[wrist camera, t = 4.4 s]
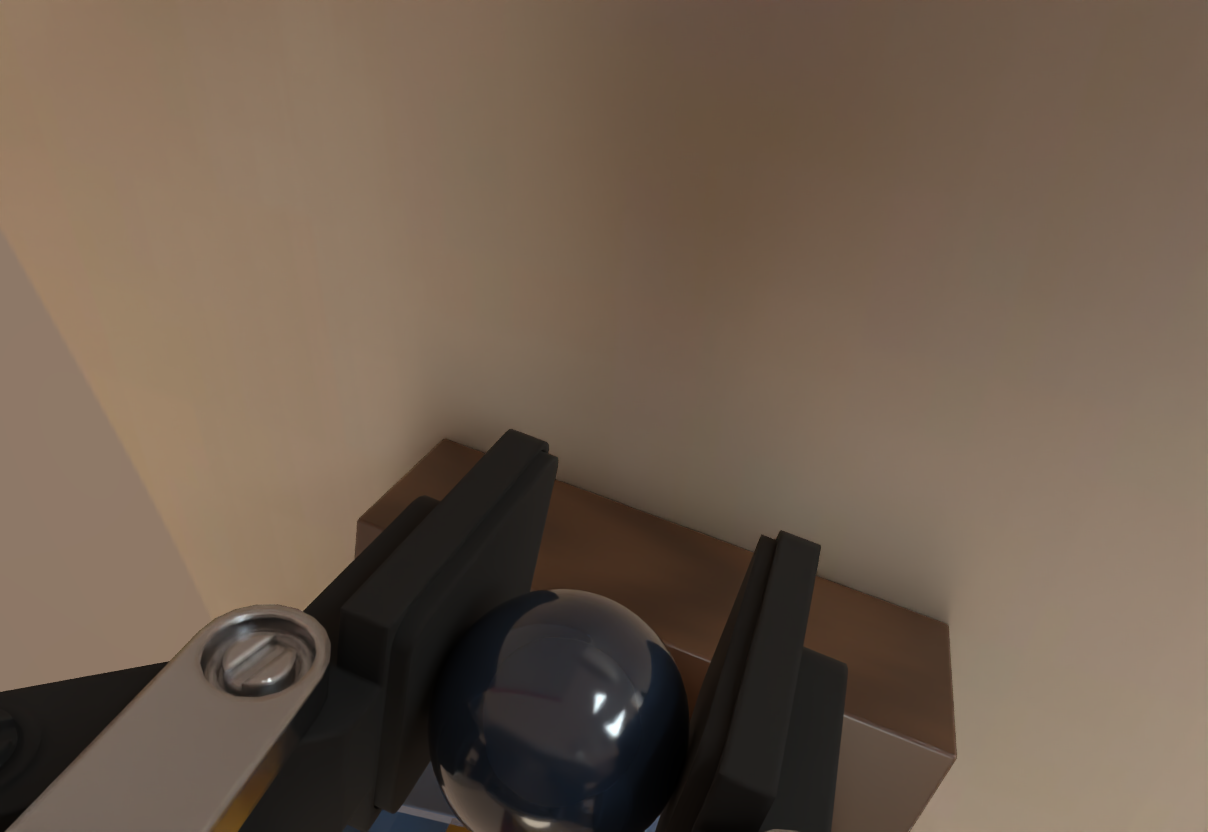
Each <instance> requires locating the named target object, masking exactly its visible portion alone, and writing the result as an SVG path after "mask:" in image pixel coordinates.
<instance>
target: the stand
mask: <svg viewBox="0 0 1208 832" xmlns="http://www.w3.org/2000/svg"><path fill="white" fill-rule="evenodd" d="M484 455H485V453H483V452H480V451H477V450H474V449H472V448H469V447H466V446H464V445H461V444H458V443H455V442H453V441H450V440H447V439H443V440H442V441H441V442H440V443H438V444H437V445H436V446H435V447H434V448H433V449H432V450H431V451H430V452H429V453H428V454H427V455H426V456H425V457H424V458H423V459H421V460H420V461H419V462H418V463H417V464H416V465H415V466H414V467H413V468H412V469H411V470H410V471H409V472H408V473H407V474H406V475H404V476H403V477H402V478H401V479H400V480H399V481H398V482H397V483H396V484H395V485H394V486H393V487H392V488H391V489H390V490H389V491H387V492H386V493H385V494H384V495H383V496H382V497H381V498H380V499H379V500H378V501H377V502H376V503H375V504H374V505H373V506H371V507H370V508H369V509H368V510H367V511H366V512H365V513H364V514H363V515H362V516H361V517H360V518H359V519H358V521H357V533H356V548H355V559H356V558H357V557H358V556H359V555H360V554H361V553H362V552H363V551H364V550H365V549H366V548H367V547H368V546H369V545H370V544H371V543H372V542H373V541H374V540H375V539H376V538H377V537H378V536H379V535H380V534H381V533H382V532H383V531H384V530H385V529H386V528H387V527H388V526H389V525H390V524H391V523H392V522H393V521H394V520H395V519H396V518H397V517H398V515H399V514H400V513H401V512H402V511H403V510H404V509H405V508H406V507H407V506H408V505H409V504H410V503H411V502H413V501H414V500H415V499H416V498H418V497H419V496H423V495H426V496H429V497H431V498H434V499H436V500H439V501H441V500H442V499H443V498H444V497H445V496H446V495H447V494H448V493H449V492H450V491H451V490H452V489H453V488H454V487H455V486H456V485H457V483H458V482H459V481H460V480H461V479H462V478H463V477H464V476H465V475H466V474H467V473H468V472H469V471H470V470H471V469H472V468H473V467H474V465H475V464H476V463H477V462H478V461H479V460H480V459H481V458H482V457H483V456H484ZM753 554H754V553H753V552H751V551H748V550H745V549H743V548H740V547H737V546H734V545H732V544H729V543H726V542H724V541H721V540H718V539H715V538H713V537H710V536H707V535H705V534H702V533H699V532H696V531H694V530H691V529H688V528H686V527H683V526H680V525H678V524H675V523H672V522H669V521H667V520H664V519H661V518H659V517H656V516H653V515H650V514H648V513H645V512H642V511H640V510H637V509H634V508H632V507H629V506H626V505H623V504H621V503H618V502H615V501H613V500H610V499H607V498H604V497H602V496H599V495H596V494H594V493H591V492H588V491H585V490H583V489H580V488H577V487H575V486H572V485H569V484H567V483H564V482H561V481H558V480H556V479H555V481H554V486H553V490H552V495H551V499H550V504H549V508H548V513H547V517H546V522H545V526H544V531H543V536H542V540H541V545H540V549H539V554H538V558H537V563H536V567H535V572H534V576H533V581H532V585H531V590H530V592H533V591H537V590H542V589H556V588H572V589H579V590H585V591H589V592H593V593H597V594H600V595H603V596H606V597H608V598H610V599H613V600H615V601H617V602H619V603H620V604H622V605H624V606H626V607H627V608H629V609H630V610H632V611H633V612H634V613H636V614H637V615H638V616H640V617H641V618H642V619H643V620H645V621H646V622H647V623H648V624H649V625H650V626H651V627H652V628H653V629H654V631H655V632H656V633H657V634H658V635H659V636H660V638H661V639H662V641H663V642H664V643H665V645H666V646H667V648H668V649H669V651H670V652H671V654H672V656H673V658H674V660H675V662H676V664H677V667H678V669H679V671H680V674H681V676H682V679H683V683H684V686H685V690H686V694H687V699H688V706H689V717H690V720H691V717H692V714H693V710H694V707H695V704H696V701H697V698H698V695H699V692H700V689H701V686H702V683H703V681H704V678H705V675H706V673H707V670H708V668H709V665H710V662H711V660H712V657H713V655H714V652H715V650H716V647H717V645H718V642H719V640H720V637H721V635H722V632H723V630H724V627H725V625H726V622H727V619H728V617H729V614H730V612H731V609H732V607H733V604H734V602H735V599H736V597H737V594H738V592H739V589H740V587H741V584H742V582H743V579H744V577H745V574H746V571H747V569H748V566H749V564H750V561H751V559H752V556H753ZM803 646H804V647H806V648H809V649H811V650H814V651H816V652H819V653H821V654H824V655H826V656H829V657H831V658H834V659H836V660H838V661H841V662H843V663H846V664H847V667H848V679H847V688H846V698H845V707H844V716H843V725H842V735H841V744H840V753H839V763H838V772H837V781H836V790H835V800H834V809H833V818H832V828H831V832H910V830H911V829H912V827H913V826H914V824H915V823H916V821H917V819H918V818H919V816H920V815H921V813H922V812H923V810H924V809H925V807H926V805H927V804H928V802H929V801H930V799H931V798H932V796H933V795H934V793H935V791H936V790H937V788H938V787H939V785H940V784H941V782H942V781H943V779H944V777H945V776H946V774H947V773H948V771H949V770H950V768H951V767H952V765H953V763H954V762H955V760H956V759H957V749H956V733H955V718H954V702H953V686H952V670H951V654H950V639H949V626H948V625H947V624H946V623H943V622H940V621H938V620H935V619H932V618H929V617H927V616H924V615H921V614H919V613H916V612H913V611H910V610H908V609H905V608H902V607H900V606H897V605H894V604H891V603H889V602H886V601H883V600H881V599H878V598H875V597H873V596H870V595H867V594H864V593H862V592H859V591H856V590H854V589H851V588H848V587H845V586H843V585H840V584H837V583H835V582H832V581H829V580H826V579H824V578H821V577H818V576H816V578H815V584H814V589H813V595H812V600H811V606H810V611H809V617H808V623H807V628H806V634H805V639H804V645H803Z"/></svg>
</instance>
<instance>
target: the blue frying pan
mask: <svg viewBox="0 0 1208 832" xmlns="http://www.w3.org/2000/svg"><path fill="white" fill-rule="evenodd" d="M689 731H690V717H689V706H688V699H687V694H686V690H685V686H684V683H683V679H682V676H681V674H680V671H679V669H678V667H677V664H676V662H675V660H674V658H673V656H672V654H671V652H670V651H669V649H668V648H667V646H666V645H665V643H664V642H663V641H662V639H661V638H660V636H659V635H658V634H657V633H656V632H655V631H654V629H653V628H652V627H651V626H650V625H649V624H648V623H647V622H646V621H645V620H643V619H642V618H641V617H640V616H638V615H637V614H636V613H634V612H633V611H632V610H630V609H629V608H627V607H626V606H624V605H622V604H620V603H619V602H617V601H615V600H613V599H610V598H608V597H606V596H603V595H600V594H597V593H593V592H589V591H585V590H579V589H572V588H556V589H542V590H537V591H533V592H529V593H525V594H522V595H519V596H516V597H514V598H511V599H509V600H507V601H505V602H503V603H501V604H499V605H498V606H496V607H494V608H493V609H491V610H490V611H488V612H487V613H486V614H484V615H483V616H481V617H480V618H479V619H478V620H477V621H476V622H475V623H473V624H472V625H471V626H470V627H469V628H468V629H467V630H466V631H465V632H464V633H463V635H462V636H461V638H460V639H459V640H458V642H457V643H456V644H455V646H454V647H453V648H452V650H451V651H450V652H449V654H448V656H447V658H446V660H445V662H444V664H443V665H442V667H441V670H440V672H439V675H438V678H437V680H436V683H435V686H434V688H433V692H432V697H431V702H430V707H429V713H428V728H427V732H428V746H429V755H430V759H431V761H430V762H429V764H428V766H427V767H426V769H425V770H424V772H423V773H422V775H421V777H420V778H419V780H418V781H417V783H416V784H415V786H414V788H413V789H412V791H411V792H410V794H409V795H408V797H407V798H406V800H405V802H404V803H403V805H402V806H401V807H400V809H399V810H398V811H397V812H396V813H395V814H391V813H389V812H387V811H385V810H382V811H381V813H380V814H379V816H378V817H377V819H376V820H375V822H374V823H373V825H372V826H371V828H370V829H369V831H368V832H446V830H447V828H448V826H449V824H452V825H456V826H460V827H465V828H466V829H467V830H468V831H469V832H655V830H656V827H657V824H658V821H659V818H660V814H661V812H662V811H663V810H664V808H665V807H666V805H667V803H668V801H669V800H670V798H671V796H672V794H673V793H674V791H675V789H676V787H677V785H678V782H679V779H680V776H681V773H682V771H683V768H684V764H685V760H686V756H687V751H688V745H689ZM342 832H362V831H360V830H358V829H356V828H354V827H352V826H349V825H347V826H346V827H345V828H344V830H343V831H342Z"/></svg>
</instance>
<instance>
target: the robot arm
mask: <svg viewBox="0 0 1208 832" xmlns="http://www.w3.org/2000/svg"><path fill="white" fill-rule="evenodd" d="M548 451H549V445H548V443H547V442H545V441H543V440H540V439H537V438H535V437H532V436H529V435H527V434H524V433H521V432H519V431H516V430H513V429H509V430H508V431H507V432H506V433H505V434H504V435H503V436H502V437H501V438H500V439H499V440H498V441H497V442H496V443H495V444H494V445H493V446H492V447H491V448H490V450H489V451H488V452H487V453H486V454H485V455H484V456H483V457H482V458H481V459H480V460H479V461H478V462H477V463H476V464H475V465H474V467H473V468H472V469H471V470H470V471H469V472H468V473H467V474H466V475H465V476H464V477H463V478H462V479H461V480H460V481H459V482H458V483H457V485H456V486H455V487H454V488H453V489H452V490H451V491H450V492H449V493H448V494H447V495H446V496H445V497H444V498H443V499H442V500H441V501H439V500H436V499H434V498H431V497H429V496H426V495H423V496H419V497H418V498H416V499H415V500H414V501H413V502H411V503H410V504H409V505H408V506H407V507H406V508H405V509H404V510H403V511H402V512H401V513H400V514H399V515H398V517H397V518H396V519H395V520H394V521H393V522H392V523H391V524H390V525H389V526H388V527H387V528H386V529H385V530H384V531H383V532H382V533H381V534H380V535H379V536H378V537H377V538H376V539H375V540H374V541H373V542H372V543H371V544H370V545H369V546H368V547H367V548H366V549H365V550H364V551H363V552H362V553H361V554H360V555H359V556H358V557H357V558H356V559H355V560H354V561H353V562H352V563H351V564H350V565H349V566H348V567H347V568H346V569H345V570H344V571H343V572H342V573H341V574H340V575H339V576H338V577H337V578H336V579H335V580H334V581H333V582H332V583H331V584H330V585H329V586H328V587H327V588H326V589H325V590H324V591H323V592H322V593H321V594H320V595H319V596H318V597H317V598H316V599H315V600H314V601H313V602H312V603H311V604H310V605H309V606H308V607H307V608H306V609H305V610H304V611H301V610H299V609H296V608H292V607H287V606H283V605H278V604H277V605H253V606H248V607H244V608H239V609H235V610H233V611H230V612H228V613H226V614H224V615H222V616H219V617H217V618H215V619H214V620H213V621H211V622H210V623H209V624H207V625H206V626H205V627H204V628H202V629H201V630H200V631H199V632H198V633H197V634H196V635H195V636H194V637H193V638H192V639H191V640H190V641H189V642H188V643H187V644H186V645H185V646H184V647H183V648H182V649H181V650H180V651H179V652H178V653H177V654H176V655H175V657H173V658H172V660H170V661H168V662H163V663H157V664H152V665H146V666H141V667H135V668H130V669H124V670H119V671H114V672H108V673H103V674H97V675H92V676H86V677H80V678H75V679H70V680H64V681H59V682H53V683H47V684H42V685H36V686H31V687H26V688H20V689H15V690H9V691H3V692H0V832H342V831H343V830H344V828H345V827H346V826H347V825H349V826H352V827H354V828H356V829H358V830H360V831H362V832H368V831H369V829H370V828H371V826H372V825H373V823H374V822H375V820H376V819H377V817H378V816H379V814H380V813H381V811H382V810H385V811H387V812H389V813H391V814H395V813H396V812H397V811H398V810H399V809H400V807H401V806H402V805H403V803H404V802H405V800H406V798H407V797H408V795H409V794H410V792H411V791H412V789H413V788H414V786H415V784H416V783H417V781H418V780H419V778H420V777H421V775H422V773H423V772H424V770H425V769H426V767H427V766H428V764H429V762H430V761H431V759H430V755H429V746H428V732H427V728H428V713H429V707H430V702H431V697H432V692H433V688H434V686H435V683H436V680H437V678H438V675H439V672H440V670H441V667H442V665H443V664H444V662H445V660H446V658H447V656H448V654H449V652H450V651H451V650H452V648H453V647H454V646H455V644H456V643H457V642H458V640H459V639H460V638H461V636H462V635H463V633H464V632H465V631H466V630H467V629H468V628H469V627H470V626H471V625H472V624H473V623H475V622H476V621H477V620H478V619H479V618H480V617H481V616H483V615H484V614H486V613H487V612H488V611H490V610H491V609H493V608H494V607H496V606H498V605H499V604H501V603H503V602H505V601H507V600H509V599H511V598H514V597H516V596H519V595H522V594H525V593H529V592H530V590H531V585H532V581H533V576H534V572H535V567H536V563H537V558H538V554H539V549H540V545H541V540H542V536H543V531H544V526H545V522H546V517H547V513H548V508H549V504H550V499H551V495H552V490H553V486H554V481H555V477H556V472H557V468H558V457H556V456H553V455H550V454H548ZM820 550H821V546H820V545H819V544H816V543H814V542H811V541H808V540H806V539H803V538H800V537H798V536H795V535H793V534H790V533H787V532H785V531H782V530H781V531H780V532H779V534H778V536H777V538H776V540H775V539H772V538H769V537H767V536H764V535H761V537H760V539H759V541H758V544H757V546H756V549H755V551H754V554H753V556H752V559H751V561H750V564H749V566H748V569H747V571H746V574H745V577H744V579H743V582H742V584H741V587H740V589H739V592H738V594H737V597H736V599H735V602H734V604H733V607H732V609H731V612H730V614H729V617H728V619H727V622H726V625H725V627H724V630H723V632H722V635H721V637H720V640H719V642H718V645H717V647H716V650H715V652H714V655H713V657H712V660H711V662H710V665H709V668H708V670H707V673H706V675H705V678H704V681H703V683H702V686H701V689H700V692H699V695H698V698H697V701H696V704H695V707H694V710H693V714H692V717H691V720H690V731H689V745H688V751H687V756H686V760H685V764H684V768H683V771H682V773H681V776H680V779H679V782H678V785H677V787H676V789H675V791H674V793H673V794H672V796H671V798H670V800H669V801H668V803H667V805H666V807H665V808H664V810H663V811H662V812H661V814H660V818H659V821H658V824H657V827H656V830H655V832H831V828H832V818H833V809H834V800H835V790H836V781H837V772H838V763H839V753H840V744H841V735H842V725H843V716H844V707H845V698H846V688H847V679H848V667H847V664H846V663H843V662H841V661H838V660H836V659H834V658H831V657H829V656H826V655H824V654H821V653H819V652H816V651H814V650H811V649H809V648H806V647H804V646H803V645H804V639H805V634H806V628H807V623H808V617H809V611H810V606H811V600H812V595H813V589H814V584H815V578H816V573H817V567H818V562H819V556H820Z"/></svg>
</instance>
